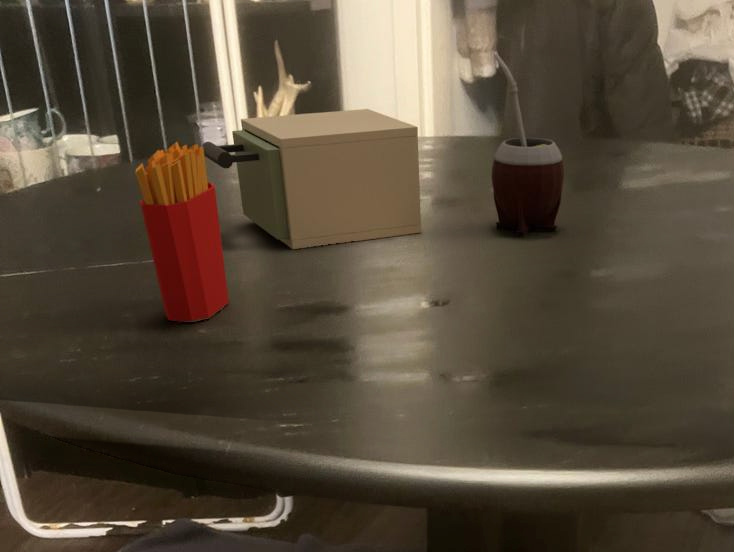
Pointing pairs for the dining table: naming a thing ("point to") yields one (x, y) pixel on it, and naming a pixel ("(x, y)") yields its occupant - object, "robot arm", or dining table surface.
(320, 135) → the cabinet
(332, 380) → the dining table surface
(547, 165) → the mate gourd
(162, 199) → the french fries
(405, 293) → the dining table surface
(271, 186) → the drawer
